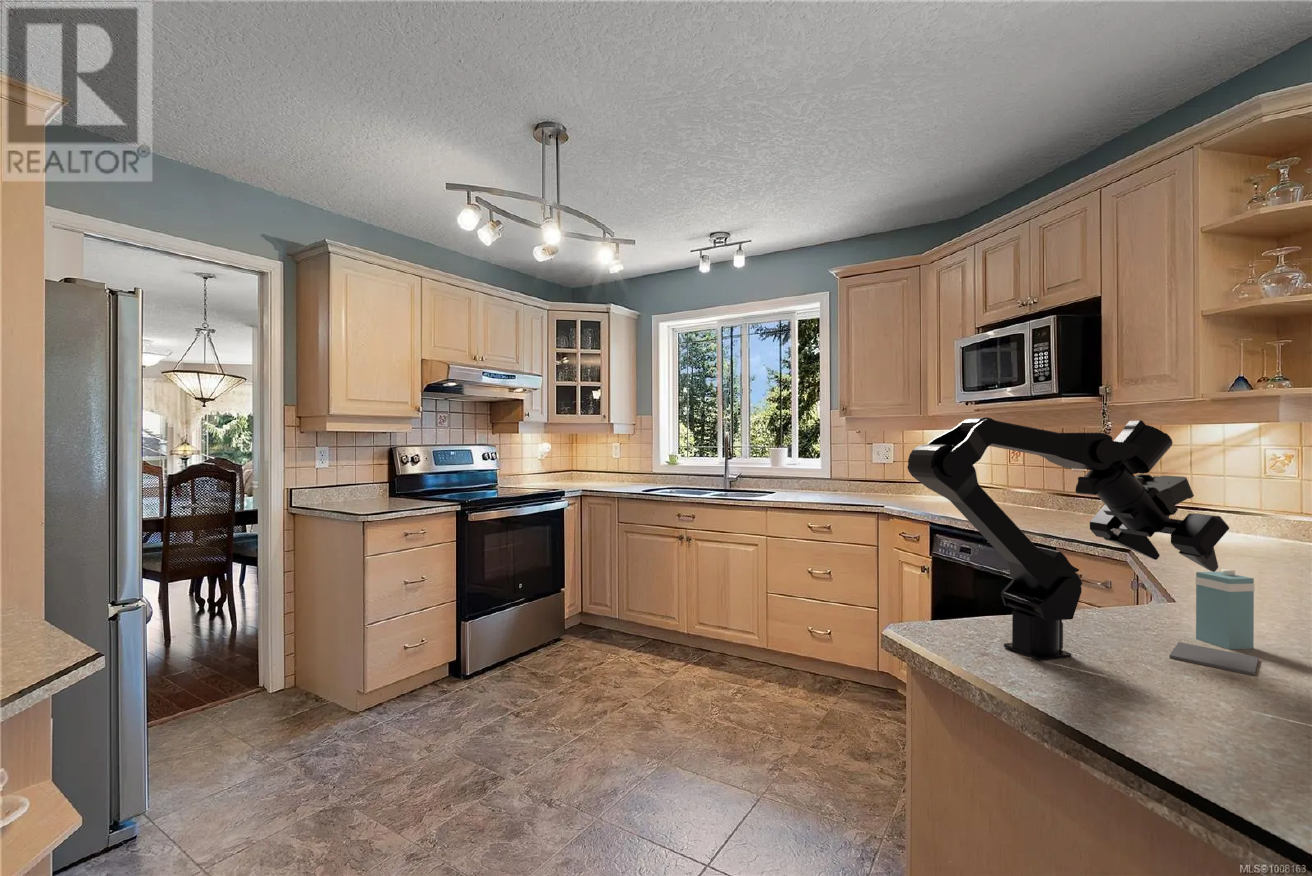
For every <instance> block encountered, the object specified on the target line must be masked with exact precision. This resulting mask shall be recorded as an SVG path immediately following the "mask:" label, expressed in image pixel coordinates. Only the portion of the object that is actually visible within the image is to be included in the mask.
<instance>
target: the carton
mask: <svg viewBox="0 0 1312 876" xmlns="http://www.w3.org/2000/svg"><path fill="white" fill-rule="evenodd" d="M1195 575H1196V576H1195V592H1196V593H1195V639H1196V640H1198V641H1202V642H1204V643H1208V644H1211V645H1214V646H1217V647H1221V648H1222V649H1223V648H1224V649H1225V650H1240V649H1241V650H1243V649H1245V650H1248V649H1254V647H1255V646H1254V645H1255V643H1254V642H1255V640H1254V636H1255V635H1254V629H1255V628H1254V625H1255V624H1254V623H1255V622H1254V617H1255V612H1254V611H1255V610H1254V609H1255V608H1254V607H1255V606H1254V605H1255V604H1254V603H1255V602H1254V601H1255V600H1254V597H1255V595H1254V593H1255V582H1254V581H1255V579H1254V577H1249V576H1246V575H1245V576H1242V575H1239V574H1236V570H1235V569H1234V570H1233V569H1228V568H1221V571H1215V572H1212V571H1196V572H1195Z"/></svg>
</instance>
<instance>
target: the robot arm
mask: <svg viewBox="0 0 1312 876" xmlns="http://www.w3.org/2000/svg"><path fill="white" fill-rule="evenodd" d="M1173 443H1174V442H1173V439H1172V438H1171V436H1170V435H1169V434H1168V433H1166V432H1164V431H1162V430H1160V429H1158V428H1157V427H1154V426H1151V425H1148V424H1146V423H1145V422H1144V421H1143V420H1142V419H1141V420H1140V419H1139V420H1129V421H1128V422H1127V423H1126V424H1125V426H1124V427H1123V429H1122V431H1120V433H1119V434H1118V435H1117V436H1116V438H1115V439H1114V440H1113V437H1112V436H1111V435H1110V434H1108V433H1105V432H1057V431H1051V430H1046V429H1041V428H1036V427H1031V426H1025V425H1020V424H1014V423H1011V422H1010V423H1009V422H1006V421H1005V422H1004V421H1000V420H995V419H993V418H992V417H969V418H966V419H964V420H963V421H961V422H960V423H958V424H957V425H956V426H954V427H953V428H952V429H949V430H948V431H946V432H944V433H942V434H940V435H938V436H936V437H934V438H933V439H931V440H929V441H928V442H927V443H925V444H920V445H917V446H916V447H915V448H913V449H912V451H911V452H910V453H909V455H908V458H907V467H906V468H907V470H908V473H909V474H910V476H912V477H913V478H914V479H915V480H916V481H918V482H919V483H921V484H922V485H923V486H924V487H926V488H927V489H929V490H931V491H933V492H934V493H936V494H938V495H940V496H941V497H943V498H945V499H947V500H948V501H949V502H950V503H951V504H953V506H954V507H955V508H956V509H957V510H958V511H959V512H960V514H962V515H963V516H964V518H965V519H966V520H967V521H968V522H969V523H970V524H971V526H973V527H974V528H975V529H976V530H977V531H978V532H979V534H981V536H982V537H983V538H984V539H985V540H986V541H987V542H988V543H989V544H990V546H992V547H993V548H994V550H996V552H997V553H998V554H999V555H1000V556H1001V557H1002V558H1003V559H1004V560H1005V561H1006V563H1007V565H1008V570H1009V571H1008V572H1009V576H1010V578H1011V579H1012V580H1011V581H1010V582H1009V583H1008V584H1007V585H1006V586H1005V587H1004V588H1003V589H1002V591H1001V592H1000V596H1001V599H1002V603H1003V605H1004V606H1007V607H1010V608H1013V609H1012V611H1011V612H1012V613H1011V614H1012V615H1011V616H1012V617H1011V619H1012V620H1011V621H1012V623H1011V625H1012V626H1011V630H1012V632H1011V634H1012V635H1011V636H1012V638H1011V640H1012V641H1011V642H1004V643H1003V647H1004V648H1006V649H1007V650H1011V651H1014V652H1016V653H1019V654H1021V655H1023V656H1026V657H1028V658H1032V659H1034V660H1037V661H1049V660H1056V659H1065V658H1072V653H1071V652H1068V651H1066V650H1063V649H1064V623H1063V621H1065V620H1068V621H1070V620H1074V616H1075V613H1076V609H1077V608H1078V604H1079V600H1080V598H1081V595H1082V586H1083V581H1082V579H1081V576H1080V575H1079V574H1078V572H1079V571H1080V569H1079V568H1077V567H1075V566H1074V565H1072V564H1071V562H1070V561H1069V559H1068V558H1067V557H1066V555H1065V554H1064V553H1062V552H1061V551H1058V550H1056V549H1055V550H1054V549H1050V548H1045V547H1043V546H1042V547H1041V546H1036V545H1035V544H1034V543H1033V542H1032V540H1031V539H1030V538H1029V537H1028V536H1027V535H1026V533H1024V531H1022V530H1021V528H1020V527H1019V526H1017V524H1015V522H1014V521H1013V520H1012V519H1011V518H1010V517H1009V515H1007V513H1006V512H1005V511H1004V510H1003V509H1002V508H1001V507H1000V506H999V505H998V504H997V503H996V502H995V500H994V499H993V498H992V497H991V496H990V495H989V494H988V493H987V492H986V491H985V489H983V487H981V485H980V484H979V481H978V477H977V472H976V467H975V466H974V465H975V464H976V463H977V462H979V461H980V460H981V459H982V457H983V456H984V454H985V452H986V450H987V449H988V447H992V448H999V449H1002V450H1008V451H1015V452H1020V453H1025V454H1030V455H1034V456H1035V455H1037V456H1039V457H1042V458H1044V459H1046V460H1047V461H1048V462H1050V463H1052V464H1054V465H1056V466H1060V467H1062V468H1065V469H1073V470H1074V469H1075V470H1088V472H1087V473H1085V475H1084V476H1078V477H1077V484H1076V486H1075V493H1076V494H1078V495H1079V494H1080V495H1081V494H1082V495H1089V496H1091V495H1093V496H1097V497H1098V498H1099V499H1100V500H1101V501H1102V502H1103V504H1104V505H1103V506H1102V507H1101V508H1100V509H1099V511H1098V512H1097V513H1096V514H1095V515H1094V516H1093V517H1092V518H1091V519H1090V521H1089V530H1090V531H1091V532H1092V534H1094V535H1095V536H1096V537H1098V538H1103V539H1104V540H1105V541H1109V542H1111V543H1114V544H1117V545H1119V546H1121V547H1124V548H1126V549H1128V550H1130V551H1133V552H1136V553H1138V554H1141V555H1143V556H1144V557H1147V558H1150V559H1151V560H1156V561H1157V560H1158V559H1159V558H1160V557H1161V556H1160V553H1159V551H1158V550H1157V548H1156V547H1155V545H1154V544H1153V543H1152V542H1151V540H1150V539H1149V538H1152V536H1153V535H1155V533H1162V534H1168V535H1170V544H1171V545H1172V546H1173V548H1174V549H1177V550H1178V554H1179V555H1181V556H1183V557H1185V558H1187V559H1189V560H1190V561H1192V562H1194V563H1195V564H1198V565H1199V566H1200V567H1203V568H1204V569H1206V570H1207V571H1209V572H1217V570H1218V569H1219V563H1218V560H1217V554H1216V552H1215V551H1216V550H1215V547H1216V545H1217V544H1218V542H1220V540H1221V539H1222V537H1224V535H1226V533H1227V532H1228V531H1229V530H1230V526H1229V525H1228V524H1227V522H1226V521H1225V519H1223V518H1222V516H1220V515H1211V514H1203V513H1187V515H1186V516H1185V518H1183V520H1182V519H1175V518H1170V516H1173V515H1175V514H1176V513H1177V512H1178V510H1179V508H1177V505H1178V504H1181V503H1182V502H1184V501H1186V500H1188V499H1189V500H1191V499H1193V498H1194V497H1195V496H1194V492H1193V489H1192V488H1191V486H1190V483H1189V480H1188V478H1187V477H1186V476H1178V475H1160V476H1158V475H1157V476H1156V475H1154V476H1152V475H1150V474H1148V473H1149V472H1150V471H1152V469H1153V468H1154V467H1155V466H1156V465H1157V464H1158V463H1159V461H1160V460H1161V459H1162V458H1163V456H1165V454H1166V453H1167V452H1168V450H1170V448H1171V447H1172V446H1173ZM1034 599H1036V600H1039V601H1042V602H1039V601H1036V600H1034Z"/></svg>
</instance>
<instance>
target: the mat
mask: <svg viewBox="0 0 1312 876" xmlns="http://www.w3.org/2000/svg"><path fill="white" fill-rule="evenodd" d="M1169 658H1170V659H1173V660H1178V661H1183V662H1188V663H1191V664H1197V665H1200V666H1201V665H1203V666H1206V667H1211V668H1217V669H1222V670H1225V671H1232V672H1236V673H1241V674H1245V675H1250V676H1255V675H1256V670H1257V667H1258V663H1259V657H1258V656H1253V655H1247V654H1243V653H1237V652H1234V651H1228V650H1223V649H1222V650H1221V649H1217V648H1212V647H1208V646H1202V645H1197V644H1191V643H1186V642H1181V641H1178V642H1177V644H1176V645H1175V647H1174V648H1173V649H1172V651H1171V652H1170V654H1169Z"/></svg>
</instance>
